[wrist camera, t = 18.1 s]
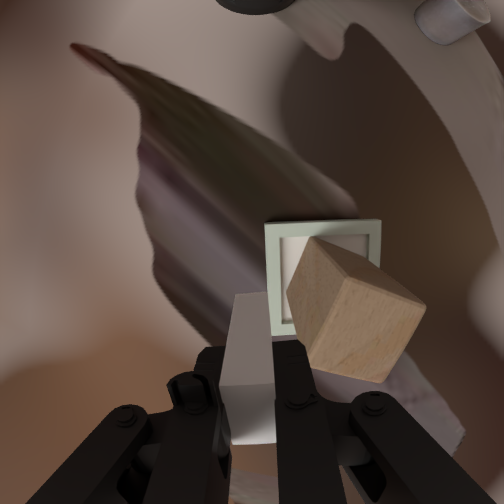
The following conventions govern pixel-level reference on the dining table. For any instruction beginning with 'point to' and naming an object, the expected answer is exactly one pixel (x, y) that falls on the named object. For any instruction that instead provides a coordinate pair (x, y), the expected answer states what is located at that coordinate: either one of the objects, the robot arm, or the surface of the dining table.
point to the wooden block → (350, 312)
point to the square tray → (292, 246)
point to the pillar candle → (450, 18)
